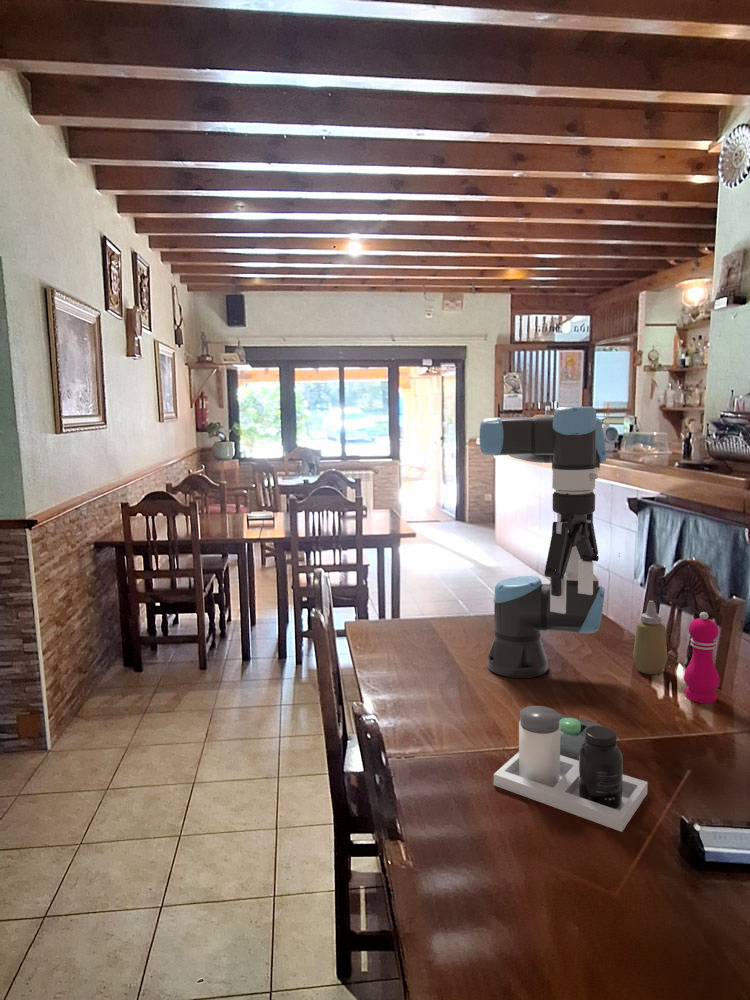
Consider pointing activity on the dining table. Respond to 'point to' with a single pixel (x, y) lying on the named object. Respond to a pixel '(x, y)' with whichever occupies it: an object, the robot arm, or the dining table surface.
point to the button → (570, 726)
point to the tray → (573, 793)
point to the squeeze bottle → (650, 642)
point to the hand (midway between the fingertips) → (572, 602)
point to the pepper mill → (702, 661)
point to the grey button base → (573, 739)
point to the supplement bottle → (601, 767)
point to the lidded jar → (539, 745)
